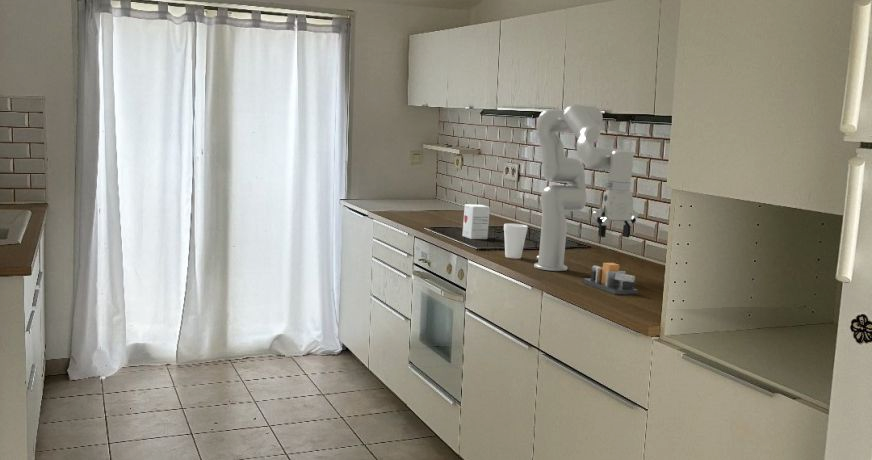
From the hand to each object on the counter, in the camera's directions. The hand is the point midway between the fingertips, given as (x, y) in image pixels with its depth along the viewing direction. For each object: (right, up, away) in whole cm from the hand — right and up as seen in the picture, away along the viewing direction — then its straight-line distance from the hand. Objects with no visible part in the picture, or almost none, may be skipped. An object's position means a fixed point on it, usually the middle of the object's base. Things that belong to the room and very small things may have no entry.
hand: (613, 236), depth 307 cm
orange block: (-1, -16, +2) cm, 16 cm away
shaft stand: (-1, -18, +2) cm, 18 cm away
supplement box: (-43, -1, +107) cm, 115 cm away
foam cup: (-29, -9, +57) cm, 65 cm away
